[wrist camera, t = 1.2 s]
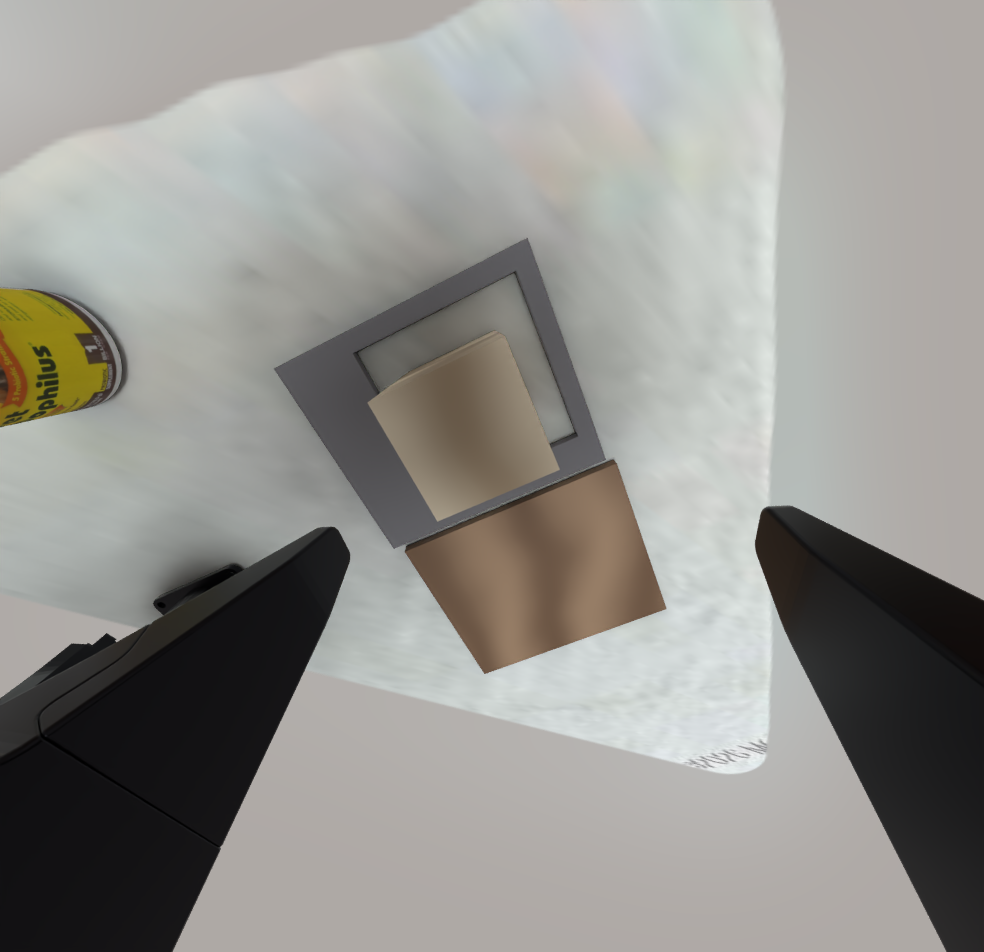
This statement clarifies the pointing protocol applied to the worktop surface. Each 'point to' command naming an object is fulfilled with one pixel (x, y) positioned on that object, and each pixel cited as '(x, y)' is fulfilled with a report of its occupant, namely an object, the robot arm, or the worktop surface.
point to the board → (542, 569)
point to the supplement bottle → (52, 357)
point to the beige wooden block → (465, 426)
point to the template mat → (348, 388)
